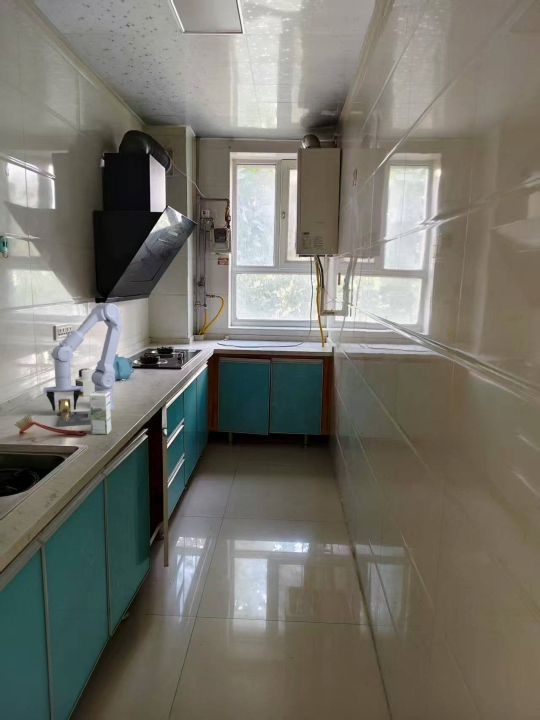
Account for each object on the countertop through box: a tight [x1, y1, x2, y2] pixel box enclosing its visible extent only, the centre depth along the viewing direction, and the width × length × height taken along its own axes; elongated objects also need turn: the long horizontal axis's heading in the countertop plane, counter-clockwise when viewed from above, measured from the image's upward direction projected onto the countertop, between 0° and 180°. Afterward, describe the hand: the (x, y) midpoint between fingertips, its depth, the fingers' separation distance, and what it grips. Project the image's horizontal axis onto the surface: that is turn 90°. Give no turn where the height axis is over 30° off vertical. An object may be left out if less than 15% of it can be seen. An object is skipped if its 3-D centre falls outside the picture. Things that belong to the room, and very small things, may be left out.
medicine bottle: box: [74, 368, 95, 397], centre depth 239 cm, size 7×7×12 cm
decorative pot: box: [96, 353, 135, 381], centre depth 274 cm, size 16×16×14 cm
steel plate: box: [57, 410, 91, 428], centre depth 195 cm, size 14×14×2 cm
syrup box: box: [89, 392, 112, 435], centre depth 181 cm, size 6×6×14 cm
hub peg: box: [57, 397, 72, 417], centre depth 203 cm, size 4×4×6 cm
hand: (64, 409), depth 203 cm, fingers open, 7 cm apart
